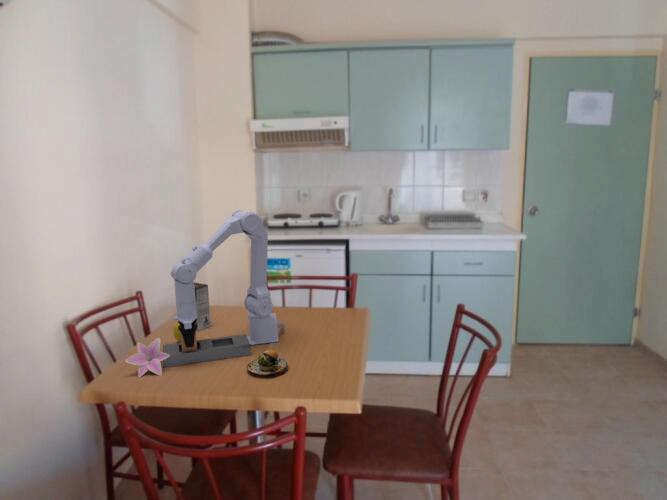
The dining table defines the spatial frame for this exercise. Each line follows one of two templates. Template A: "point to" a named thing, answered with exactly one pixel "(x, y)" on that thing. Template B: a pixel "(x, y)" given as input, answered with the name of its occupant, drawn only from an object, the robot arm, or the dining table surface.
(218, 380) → the dining table surface
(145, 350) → the lily
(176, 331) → the lemon
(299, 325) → the dining table surface
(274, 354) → the burger
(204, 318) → the coffee box
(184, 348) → the peg
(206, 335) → the dining table surface
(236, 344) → the grey slotted board
